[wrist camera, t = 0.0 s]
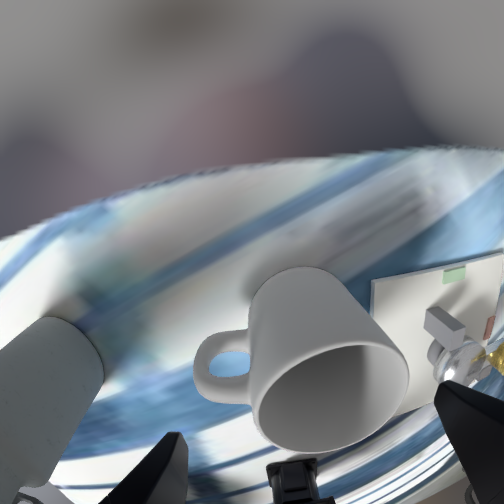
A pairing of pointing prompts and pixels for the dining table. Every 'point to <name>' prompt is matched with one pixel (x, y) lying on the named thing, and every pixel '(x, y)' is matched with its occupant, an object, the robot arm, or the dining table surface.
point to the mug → (309, 365)
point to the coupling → (468, 361)
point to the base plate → (436, 316)
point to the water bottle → (42, 401)
